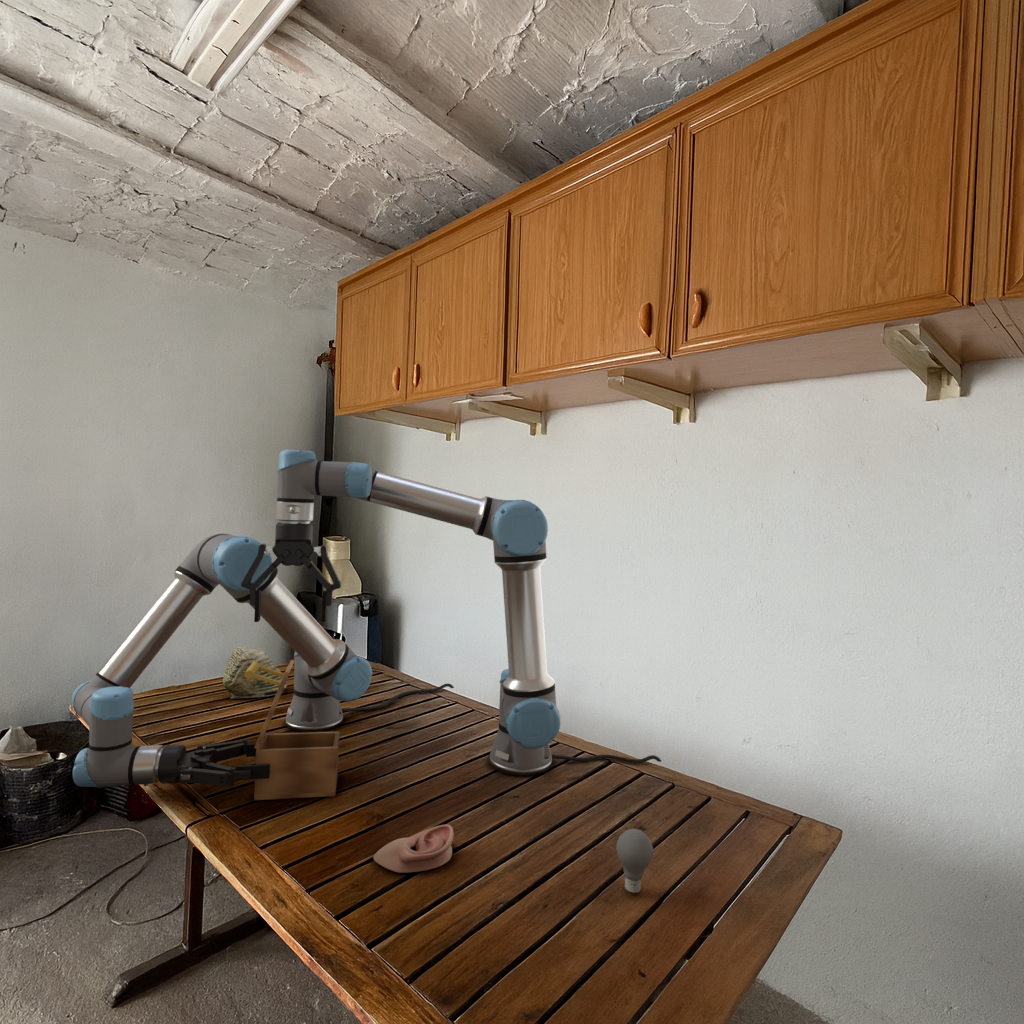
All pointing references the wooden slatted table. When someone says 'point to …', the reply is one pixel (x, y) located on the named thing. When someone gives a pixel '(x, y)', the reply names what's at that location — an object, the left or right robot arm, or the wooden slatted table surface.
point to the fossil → (251, 687)
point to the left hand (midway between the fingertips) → (273, 759)
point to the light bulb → (634, 857)
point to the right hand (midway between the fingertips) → (290, 621)
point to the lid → (251, 674)
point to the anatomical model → (417, 851)
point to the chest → (298, 765)
